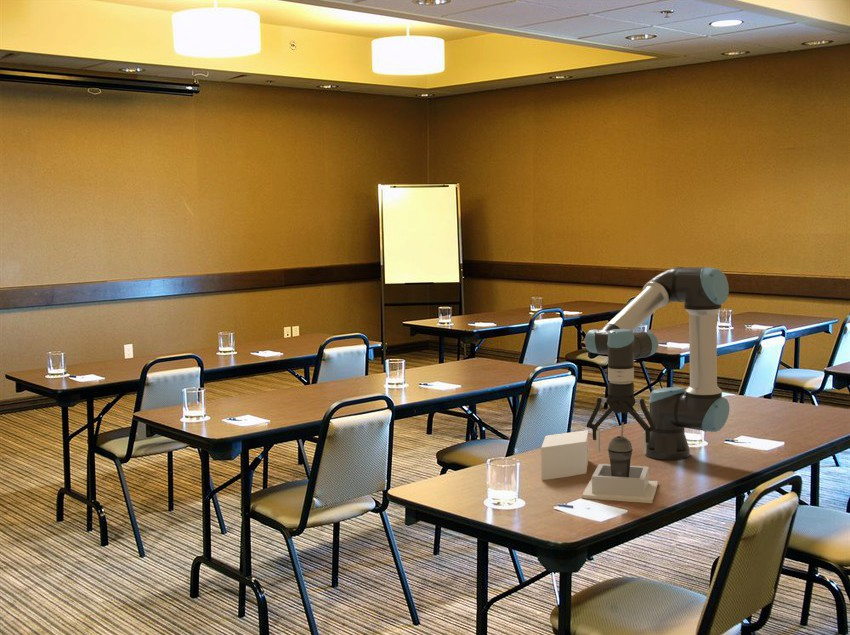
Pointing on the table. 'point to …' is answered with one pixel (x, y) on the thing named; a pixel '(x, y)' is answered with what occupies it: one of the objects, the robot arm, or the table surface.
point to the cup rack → (621, 485)
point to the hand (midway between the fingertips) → (621, 452)
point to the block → (564, 455)
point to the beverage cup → (620, 455)
